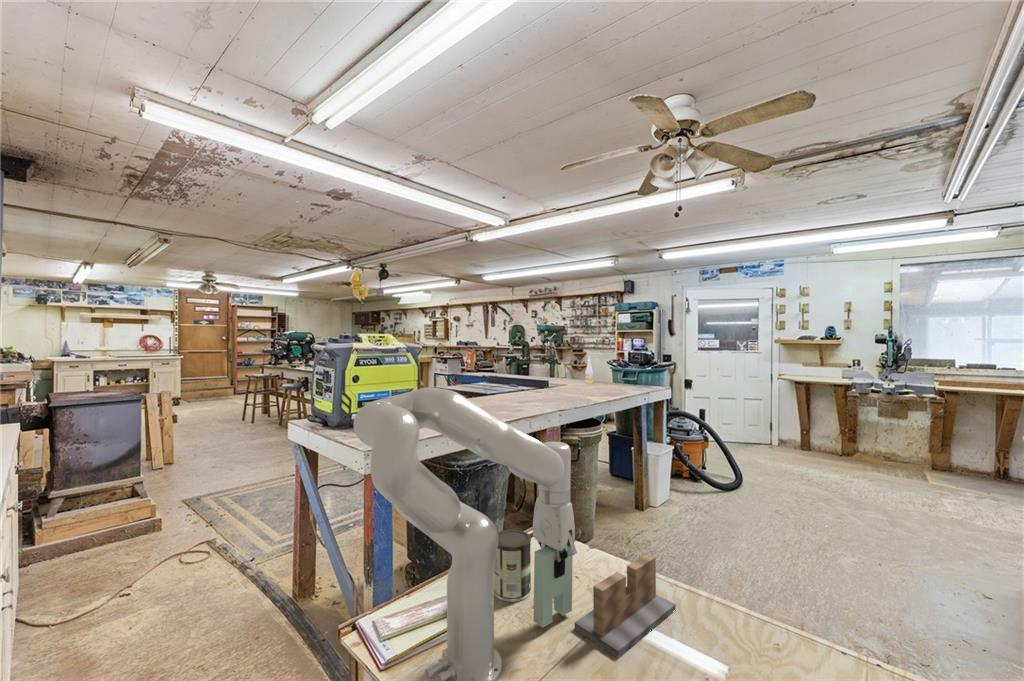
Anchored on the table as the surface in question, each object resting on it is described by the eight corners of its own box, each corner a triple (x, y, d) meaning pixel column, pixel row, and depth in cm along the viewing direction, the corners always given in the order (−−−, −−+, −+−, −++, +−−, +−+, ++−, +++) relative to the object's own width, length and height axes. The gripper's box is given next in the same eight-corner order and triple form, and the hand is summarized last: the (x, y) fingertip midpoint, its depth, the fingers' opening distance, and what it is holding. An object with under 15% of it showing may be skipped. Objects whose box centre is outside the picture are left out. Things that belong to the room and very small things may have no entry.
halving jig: (618, 658, 87) (618, 603, 87) (574, 628, 96) (574, 578, 96) (675, 610, 103) (675, 563, 103) (633, 588, 112) (632, 545, 112)
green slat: (571, 610, 101) (572, 543, 101) (542, 627, 94) (543, 556, 95) (562, 604, 103) (563, 539, 104) (533, 621, 97) (534, 551, 97)
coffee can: (520, 576, 118) (520, 526, 118) (538, 596, 109) (537, 542, 109) (487, 585, 114) (486, 533, 114) (501, 606, 105) (501, 550, 105)
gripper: (520, 489, 103) (519, 564, 103) (570, 508, 91) (569, 594, 90) (541, 483, 108) (540, 555, 108) (591, 501, 96) (591, 582, 95)
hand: (553, 572), depth 99 cm, fingers closed on green slat, 3 cm apart
